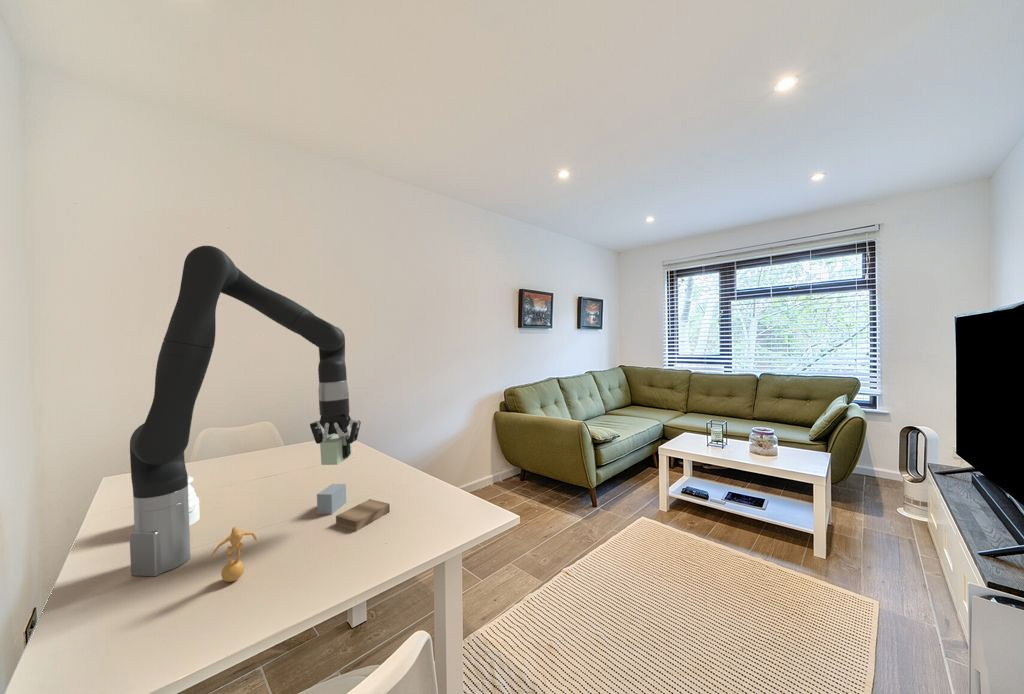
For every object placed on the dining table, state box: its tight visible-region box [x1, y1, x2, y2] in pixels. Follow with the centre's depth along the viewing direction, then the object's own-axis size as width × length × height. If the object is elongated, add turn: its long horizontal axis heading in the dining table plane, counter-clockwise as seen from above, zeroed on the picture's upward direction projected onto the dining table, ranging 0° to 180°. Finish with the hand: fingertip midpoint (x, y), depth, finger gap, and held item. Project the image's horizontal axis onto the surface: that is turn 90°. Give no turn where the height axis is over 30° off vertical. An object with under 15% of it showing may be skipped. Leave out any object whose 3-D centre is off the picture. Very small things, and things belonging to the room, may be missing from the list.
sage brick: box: [319, 434, 353, 466], centre depth 105 cm, size 8×4×6 cm, turn 176°
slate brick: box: [316, 483, 347, 515], centre depth 115 cm, size 8×4×6 cm, turn 175°
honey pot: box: [188, 475, 201, 527], centre depth 106 cm, size 13×13×18 cm
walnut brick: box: [335, 499, 391, 532], centre depth 108 cm, size 12×8×3 cm, turn 153°
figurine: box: [209, 526, 258, 583], centre depth 80 cm, size 8×6×12 cm
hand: (337, 457), depth 105 cm, fingers closed on sage brick, 4 cm apart
